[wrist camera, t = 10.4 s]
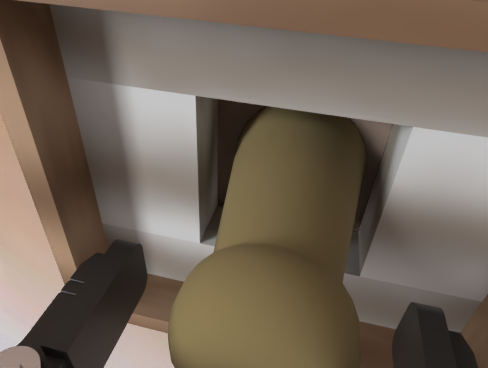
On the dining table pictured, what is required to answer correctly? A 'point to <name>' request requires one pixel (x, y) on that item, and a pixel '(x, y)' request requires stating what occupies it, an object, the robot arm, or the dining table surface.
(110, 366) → the dining table surface
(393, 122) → the wooden tray
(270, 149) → the cork
